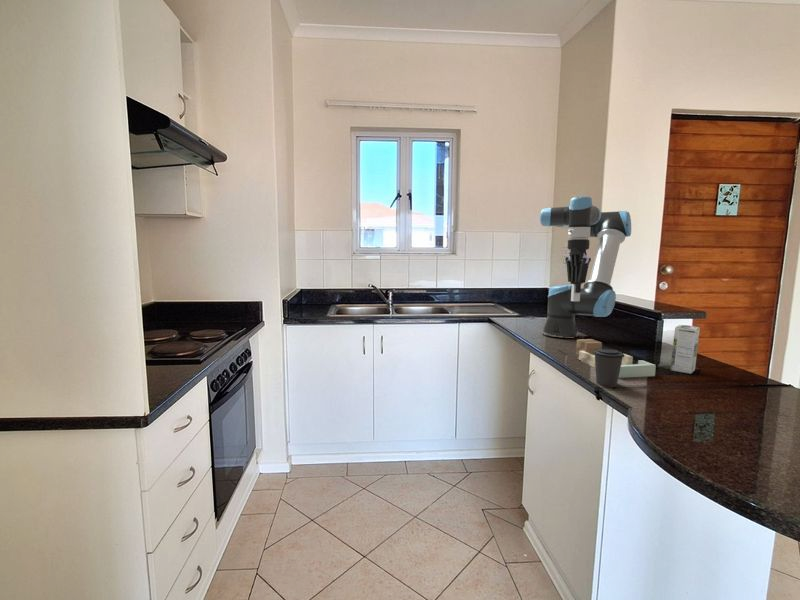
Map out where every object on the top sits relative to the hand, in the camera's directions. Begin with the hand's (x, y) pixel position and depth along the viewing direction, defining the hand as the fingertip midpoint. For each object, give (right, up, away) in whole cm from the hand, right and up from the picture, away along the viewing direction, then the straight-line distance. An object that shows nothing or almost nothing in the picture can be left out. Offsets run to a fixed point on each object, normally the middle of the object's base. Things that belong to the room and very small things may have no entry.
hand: (575, 301), depth 152 cm
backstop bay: (+5, -23, -28) cm, 37 cm away
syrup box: (+24, -23, -24) cm, 41 cm away
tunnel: (+3, -21, -16) cm, 27 cm away
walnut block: (+2, -21, -7) cm, 22 cm away
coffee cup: (-7, -24, -37) cm, 45 cm away
